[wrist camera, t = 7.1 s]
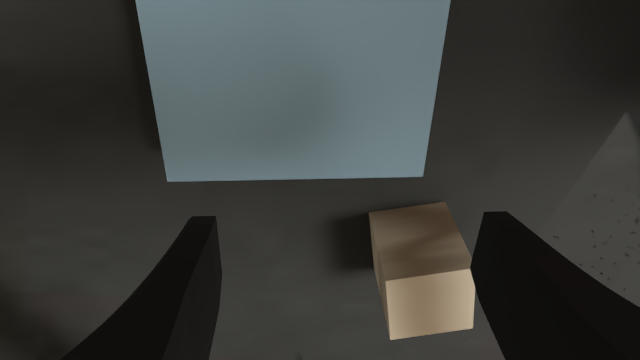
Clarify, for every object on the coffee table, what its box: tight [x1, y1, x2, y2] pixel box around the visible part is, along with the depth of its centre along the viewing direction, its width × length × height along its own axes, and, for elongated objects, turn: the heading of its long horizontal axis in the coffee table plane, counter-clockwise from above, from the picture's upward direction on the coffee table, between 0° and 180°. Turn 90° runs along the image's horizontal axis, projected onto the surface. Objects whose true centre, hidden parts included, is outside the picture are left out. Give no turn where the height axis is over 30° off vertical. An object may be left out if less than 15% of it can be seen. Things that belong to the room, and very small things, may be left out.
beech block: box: [369, 202, 475, 340], centre depth 25 cm, size 4×4×5 cm
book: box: [135, 0, 451, 182], centre depth 21 cm, size 11×8×3 cm
